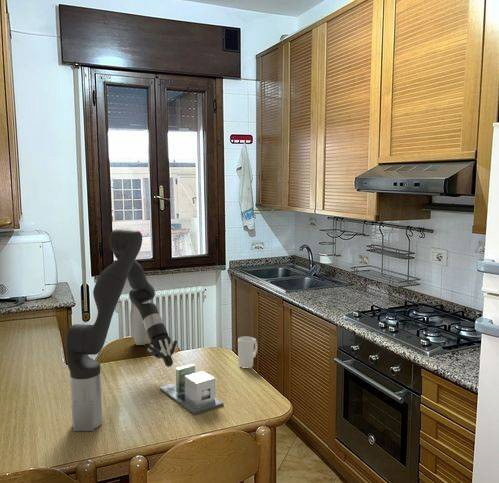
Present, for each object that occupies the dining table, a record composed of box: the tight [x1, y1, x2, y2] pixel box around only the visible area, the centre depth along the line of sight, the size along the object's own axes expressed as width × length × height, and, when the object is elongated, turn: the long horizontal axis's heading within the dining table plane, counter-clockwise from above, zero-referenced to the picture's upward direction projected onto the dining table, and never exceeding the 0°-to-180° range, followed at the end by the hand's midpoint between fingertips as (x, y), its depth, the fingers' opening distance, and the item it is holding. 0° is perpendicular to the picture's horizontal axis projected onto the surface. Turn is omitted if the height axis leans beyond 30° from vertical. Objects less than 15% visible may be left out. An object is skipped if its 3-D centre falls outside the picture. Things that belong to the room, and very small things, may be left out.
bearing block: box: [159, 370, 225, 416], centre depth 175 cm, size 25×12×10 cm, turn 38°
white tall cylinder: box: [129, 300, 151, 346], centre depth 228 cm, size 10×10×28 cm
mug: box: [237, 336, 258, 369], centre depth 205 cm, size 10×7×12 cm, turn 132°
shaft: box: [175, 363, 210, 399], centre depth 172 cm, size 15×7×9 cm, turn 38°
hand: (170, 365), depth 186 cm, fingers closed
